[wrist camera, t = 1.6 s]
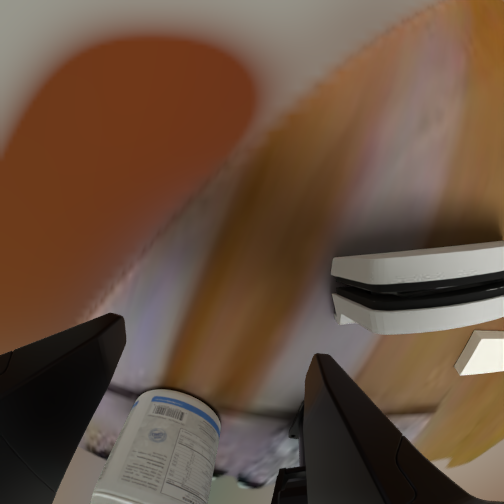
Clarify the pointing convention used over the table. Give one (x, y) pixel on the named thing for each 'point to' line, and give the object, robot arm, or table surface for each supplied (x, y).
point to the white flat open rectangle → (482, 353)
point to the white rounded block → (421, 288)
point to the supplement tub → (162, 453)
